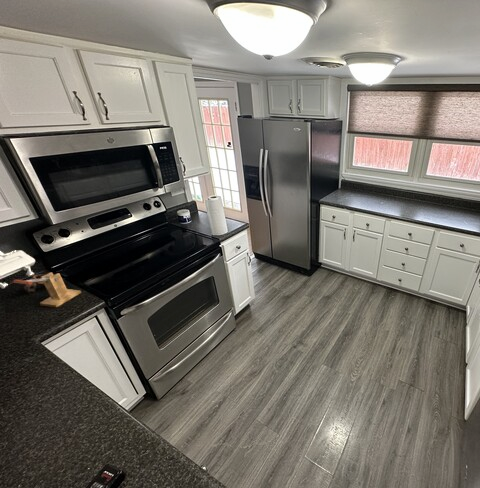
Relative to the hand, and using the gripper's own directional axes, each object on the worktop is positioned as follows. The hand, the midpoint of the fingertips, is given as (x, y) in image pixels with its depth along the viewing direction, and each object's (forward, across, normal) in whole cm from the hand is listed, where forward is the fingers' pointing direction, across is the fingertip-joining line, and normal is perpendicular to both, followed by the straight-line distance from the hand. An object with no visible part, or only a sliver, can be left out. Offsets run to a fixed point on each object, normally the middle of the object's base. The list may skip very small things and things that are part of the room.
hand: (19, 280), depth 116 cm
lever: (+4, -5, -1) cm, 6 cm away
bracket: (+13, -10, -10) cm, 19 cm away
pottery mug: (0, -14, -24) cm, 28 cm away
